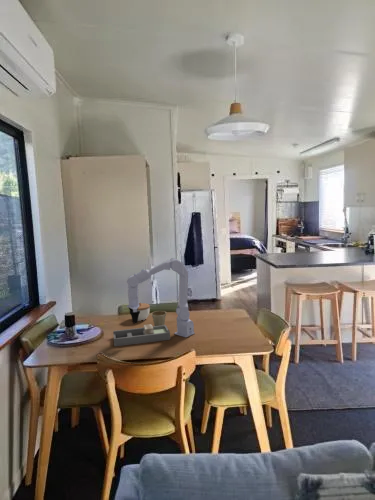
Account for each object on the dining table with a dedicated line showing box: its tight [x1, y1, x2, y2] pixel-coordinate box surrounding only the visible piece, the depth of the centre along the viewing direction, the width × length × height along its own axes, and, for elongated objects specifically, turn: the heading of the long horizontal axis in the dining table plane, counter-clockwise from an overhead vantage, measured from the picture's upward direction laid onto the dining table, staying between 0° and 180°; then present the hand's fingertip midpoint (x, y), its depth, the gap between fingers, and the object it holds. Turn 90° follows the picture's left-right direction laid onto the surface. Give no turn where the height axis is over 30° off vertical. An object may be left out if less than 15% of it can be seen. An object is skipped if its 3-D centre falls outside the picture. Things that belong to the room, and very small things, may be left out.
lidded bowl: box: [137, 302, 151, 322], centre depth 232 cm, size 13×13×11 cm
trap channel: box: [112, 324, 171, 347], centre depth 198 cm, size 30×13×4 cm, turn 103°
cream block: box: [143, 324, 154, 335], centre depth 199 cm, size 4×8×4 cm, turn 13°
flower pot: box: [150, 310, 167, 326], centre depth 216 cm, size 9×9×9 cm
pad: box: [154, 328, 166, 334], centre depth 201 cm, size 7×11×2 cm, turn 13°
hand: (134, 321), depth 196 cm, fingers open, 7 cm apart
